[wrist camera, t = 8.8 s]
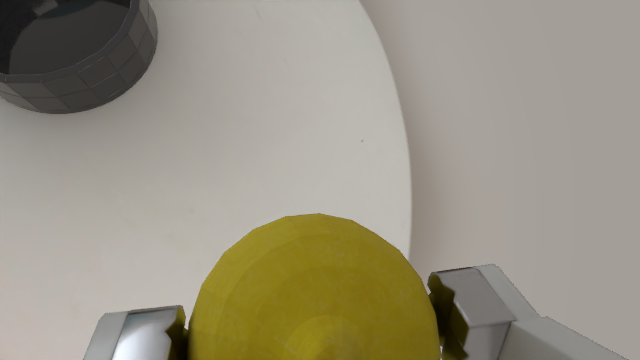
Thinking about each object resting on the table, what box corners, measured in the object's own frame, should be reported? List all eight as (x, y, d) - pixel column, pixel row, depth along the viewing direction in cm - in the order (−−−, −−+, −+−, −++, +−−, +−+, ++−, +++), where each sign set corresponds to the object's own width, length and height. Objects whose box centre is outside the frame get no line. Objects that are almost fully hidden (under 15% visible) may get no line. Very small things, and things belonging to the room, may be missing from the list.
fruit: (411, 292, 13) (591, 295, 6) (329, 453, 12) (430, 748, 4) (276, 207, 14) (280, 103, 6) (178, 353, 12) (19, 460, 5)
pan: (131, -49, 33) (110, -100, 29) (179, 83, 30) (164, 49, 26) (-43, -13, 30) (-96, -63, 26) (-8, 137, 27) (-60, 109, 23)
